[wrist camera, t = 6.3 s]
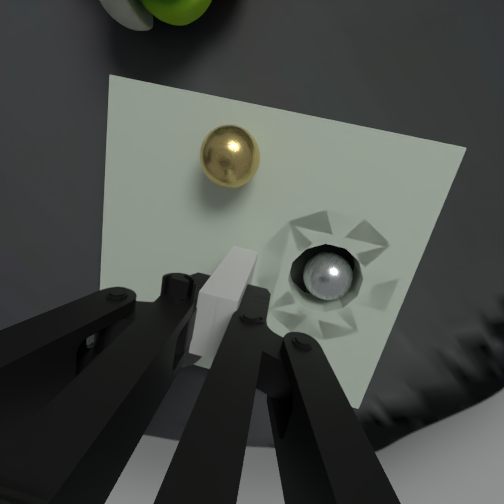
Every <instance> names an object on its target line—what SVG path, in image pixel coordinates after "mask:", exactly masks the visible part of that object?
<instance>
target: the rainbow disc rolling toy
mask: <svg viewBox="0 0 504 504" xmlns="http://www.w3.org/2000/svg"><path fill="white" fill-rule="evenodd" d="M99 1H100V2H101V4H102V6H103V7H104V9H105V10H106V11H107V12H108V14H109V15H110V16H111V17H112V18H113V19H115V20H116V21H117V22H118V23H120V24H121V25H123V26H125V27H127V28H129V29H132V30H136V31H147V30H150V29H152V27H153V15H154V16H155V17H156V18H158V19H159V20H161V21H163V22H165V23H168V24H172V25H187V24H190V23H192V22H193V21H195V20H197V19H198V18H199V17H200V16H201V15H203V13H204V12H205V11H206V10H207V8H208V7H209V5H210V3H211V1H212V0H99Z"/></svg>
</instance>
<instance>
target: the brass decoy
mask: <svg viewBox="0 0 504 504" xmlns="http://www.w3.org/2000/svg"><path fill="white" fill-rule="evenodd" d="M200 164H201V167H202V169H203V171H204V173H205V175H206V176H207V177H208V178H209V179H210V180H211V181H212V182H213V183H215V184H216V185H218V186H220V187H224V188H237V187H241V186H243V185H245V184H247V183H248V182H249V181H250V180H251V179H252V178H253V177H254V176H255V174H256V172H257V170H258V168H259V164H260V150H259V147H258V144H257V142H256V140H255V138H254V137H253V136H252V135H251V134H250V133H249V132H248V131H247V130H245V129H244V128H242V127H240V126H236V125H222V126H219V127H217V128H215V129H213V130H212V131H210V132H209V133H208V134H207V136H206V137H205V138H204V140H203V142H202V145H201V148H200Z"/></svg>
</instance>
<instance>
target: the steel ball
mask: <svg viewBox="0 0 504 504" xmlns="http://www.w3.org/2000/svg"><path fill="white" fill-rule="evenodd" d="M352 279H353V274H352V269H351V267H350V265H349V263H348V262H347V261H346V260H345V259H344V258H343V257H342V256H340V255H338V254H336V253H332V252H322V253H319V254H316V255H315V256H313V257H312V258H311V259H310V260H309V261H308V262H307V263H306V265H305V268H304V271H303V280H304V283H305V286H306V288H307V289H308V290H309V292H310V293H311V294H313V295H314V296H315V297H317V298H320V299H323V300H333V299H337V298H339V297H341V296H343V295H344V294H345V293H346V292H347V291H348V290H349V288H350V286H351V284H352Z"/></svg>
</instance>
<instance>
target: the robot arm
mask: <svg viewBox="0 0 504 504" xmlns="http://www.w3.org/2000/svg"><path fill="white" fill-rule="evenodd" d="M257 257H258V251H254V250H250V249H246V248H241V247H237V246H233V247H232V249H231V250H230V251H229V253H228V254H227V255H226V257H225V258H224V259H223V261H222V262H221V263H220V265H219V266H218V267H217V269H216V270H215V271H214V273H213V274H212V275H207V274H203V273H199V272H198V273H195V274H192V275H188V274H183V273H168V274H165V275H163V277H162V285H161V293H160V296H159V297H158V298H157V299H156V300H155V301H154V302H144V301H136V297H137V295H136V293H135V292H134V291H133V290H131V289H128V288H125V287H110V288H106V289H102V290H100V291H97V292H95V293H92V294H90V295H88V296H85V297H83V298H80V299H78V300H75V301H73V302H70V303H68V304H65V305H63V306H60V307H58V308H55V309H53V310H50V311H48V312H45V313H43V314H40V315H38V316H35V317H33V318H30V319H28V320H25V321H23V322H20V323H18V324H15V325H13V326H10V327H8V328H5V329H3V330H0V504H104V503H105V502H106V500H107V498H108V496H109V494H110V492H111V491H112V489H113V487H114V486H115V484H116V482H117V480H118V478H119V477H120V475H121V472H122V471H123V469H124V467H125V466H126V464H127V462H128V460H129V458H130V457H131V455H132V453H133V452H134V449H135V448H136V446H137V444H138V443H139V441H140V439H141V437H142V435H143V434H144V432H145V430H146V428H147V426H148V425H149V423H150V421H151V419H152V418H153V416H154V414H155V412H156V410H157V409H158V407H159V405H160V403H161V401H162V400H163V398H164V396H165V394H166V392H167V391H168V389H169V387H170V385H171V383H172V382H173V380H174V378H175V376H176V375H177V373H178V371H179V369H180V367H181V366H182V364H183V362H184V359H185V354H186V349H187V347H188V346H189V344H190V348H189V353H192V354H195V355H199V356H202V357H206V358H210V359H213V362H212V365H211V367H210V369H209V372H208V374H207V377H206V379H205V381H204V384H203V386H202V389H201V391H200V393H199V396H198V398H197V401H196V403H195V405H194V408H193V410H192V413H191V415H190V417H189V420H188V422H187V425H186V427H185V429H184V432H183V434H182V437H181V439H180V441H179V444H178V446H177V449H176V451H175V453H174V456H173V458H172V461H171V463H170V465H169V468H168V470H167V473H166V475H165V477H164V480H163V482H162V485H161V487H160V489H159V492H158V494H157V496H156V499H155V501H154V504H236V502H237V495H238V490H239V484H240V478H241V472H242V466H243V461H244V455H245V449H246V443H247V437H248V431H249V425H250V420H251V414H252V408H253V402H254V396H255V390H256V388H257V389H259V390H260V391H262V392H264V393H266V394H267V405H268V410H269V416H270V422H271V427H272V433H273V439H274V444H275V450H276V456H277V461H278V467H279V473H280V477H281V484H282V489H283V495H284V501H285V504H401V503H400V502H399V499H398V498H397V496H396V494H395V491H394V490H393V488H392V485H391V484H390V482H389V480H388V478H387V476H386V474H385V472H384V470H383V468H382V466H381V464H380V462H379V460H378V458H377V456H376V454H375V452H374V450H373V448H372V446H371V444H370V442H369V440H368V438H367V436H366V434H365V432H364V430H363V428H362V426H361V424H360V422H359V420H358V418H357V416H356V415H355V413H354V411H353V409H352V407H351V405H350V403H349V401H348V399H347V397H346V395H345V393H344V391H343V389H342V387H341V385H340V383H339V381H338V379H337V377H336V375H335V373H334V371H333V369H332V367H331V365H330V363H329V361H328V359H327V357H326V355H325V353H324V351H323V349H322V347H321V346H320V344H319V343H318V342H317V340H315V339H314V338H313V337H311V336H310V335H308V334H305V333H301V332H289V333H286V335H285V336H284V337H281V336H279V335H278V334H276V333H274V332H273V331H272V330H270V328H269V327H268V326H267V321H266V320H267V314H268V308H269V302H270V296H271V294H270V292H269V291H268V289H266V288H262V287H258V286H254V285H251V283H252V279H253V274H254V270H255V265H256V261H257ZM93 334H94V342H93V343H92V344H90V345H86V338H87V337H89V336H91V335H93Z"/></svg>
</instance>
